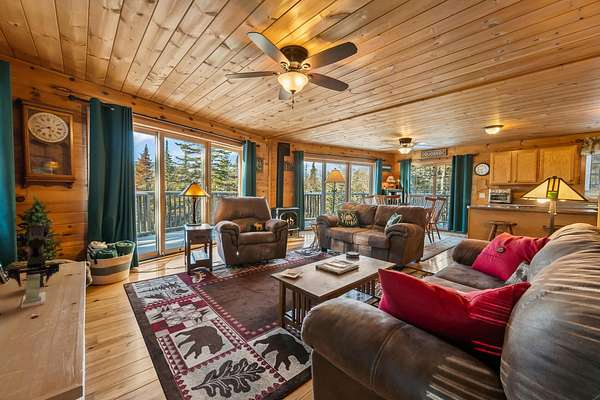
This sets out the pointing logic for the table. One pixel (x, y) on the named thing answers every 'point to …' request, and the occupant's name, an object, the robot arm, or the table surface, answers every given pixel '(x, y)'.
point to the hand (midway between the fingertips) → (33, 284)
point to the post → (32, 287)
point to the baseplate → (33, 303)
